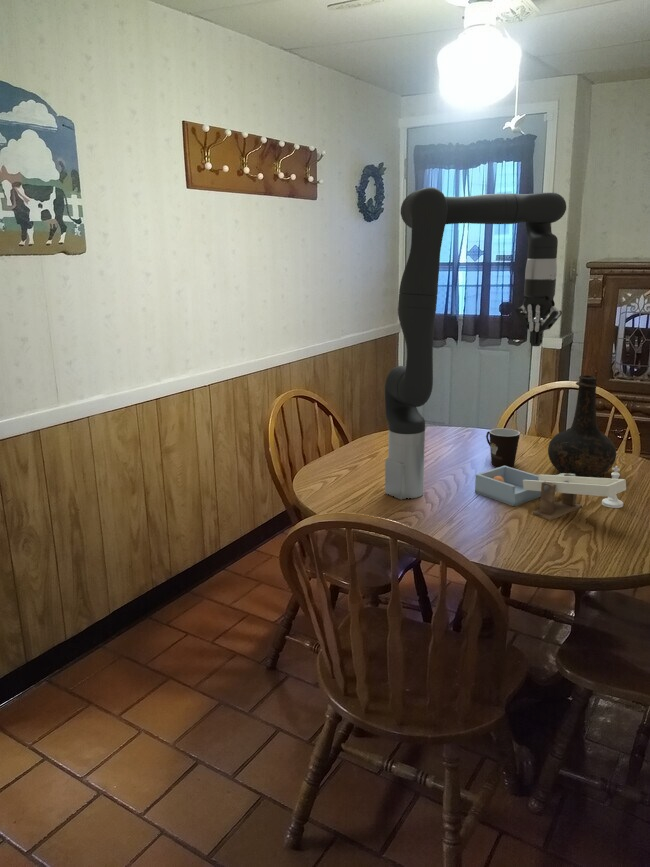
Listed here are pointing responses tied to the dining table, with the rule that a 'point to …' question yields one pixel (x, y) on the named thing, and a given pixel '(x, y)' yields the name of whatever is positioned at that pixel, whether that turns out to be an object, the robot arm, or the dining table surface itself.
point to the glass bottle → (583, 438)
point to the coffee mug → (503, 446)
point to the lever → (578, 485)
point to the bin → (506, 485)
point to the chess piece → (613, 500)
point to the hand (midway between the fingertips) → (535, 345)
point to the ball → (499, 478)
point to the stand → (557, 509)
